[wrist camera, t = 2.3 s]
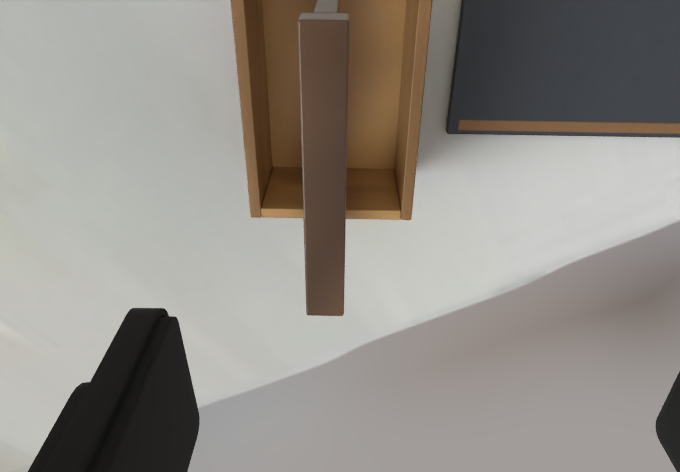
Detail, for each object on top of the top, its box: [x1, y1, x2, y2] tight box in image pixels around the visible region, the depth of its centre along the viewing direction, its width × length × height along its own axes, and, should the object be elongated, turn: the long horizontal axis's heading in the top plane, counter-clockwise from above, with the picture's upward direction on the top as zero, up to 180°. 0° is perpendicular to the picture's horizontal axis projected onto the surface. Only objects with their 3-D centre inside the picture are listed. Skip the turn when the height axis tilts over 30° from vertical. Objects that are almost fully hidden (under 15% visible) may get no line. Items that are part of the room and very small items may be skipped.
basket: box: [231, 0, 432, 316], centre depth 26 cm, size 9×12×14 cm
